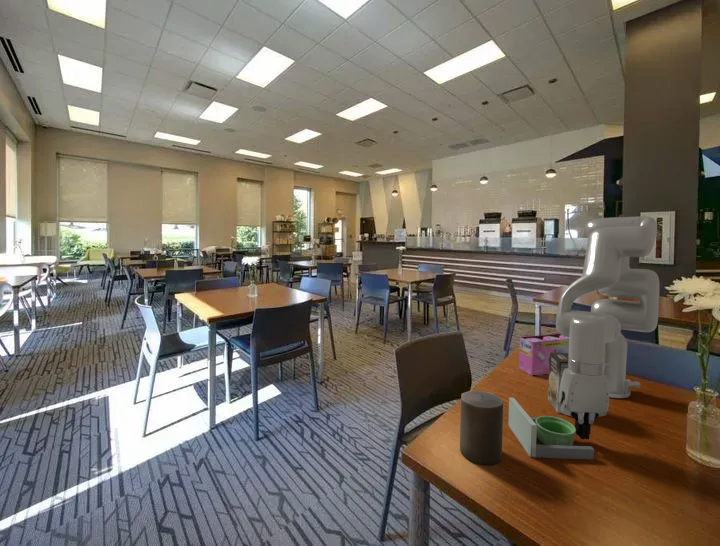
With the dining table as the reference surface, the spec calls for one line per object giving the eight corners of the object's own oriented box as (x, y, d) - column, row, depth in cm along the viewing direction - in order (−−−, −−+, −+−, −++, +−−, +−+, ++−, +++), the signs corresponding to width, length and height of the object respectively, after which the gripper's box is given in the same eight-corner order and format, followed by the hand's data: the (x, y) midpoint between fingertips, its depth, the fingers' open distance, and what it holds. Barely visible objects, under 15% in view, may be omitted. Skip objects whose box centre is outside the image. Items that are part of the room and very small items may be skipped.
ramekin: (568, 456, 81) (569, 438, 81) (529, 440, 88) (529, 423, 87) (580, 441, 87) (580, 425, 86) (542, 427, 94) (543, 412, 93)
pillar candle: (498, 470, 76) (501, 406, 75) (455, 457, 81) (456, 396, 80) (504, 448, 84) (506, 390, 83) (464, 437, 89) (465, 382, 88)
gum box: (567, 364, 143) (568, 332, 141) (583, 371, 135) (585, 337, 134) (517, 369, 137) (518, 336, 136) (532, 376, 129) (533, 342, 128)
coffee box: (546, 399, 110) (548, 351, 109) (568, 401, 109) (570, 352, 108) (557, 413, 101) (559, 361, 100) (581, 415, 100) (583, 362, 99)
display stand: (561, 426, 94) (563, 398, 93) (593, 459, 80) (595, 426, 79) (508, 425, 95) (509, 397, 94) (530, 457, 81) (531, 425, 80)
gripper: (606, 361, 88) (603, 429, 90) (547, 361, 89) (544, 427, 91) (627, 372, 81) (623, 446, 82) (562, 371, 82) (559, 444, 83)
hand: (582, 436), depth 86 cm, fingers closed
